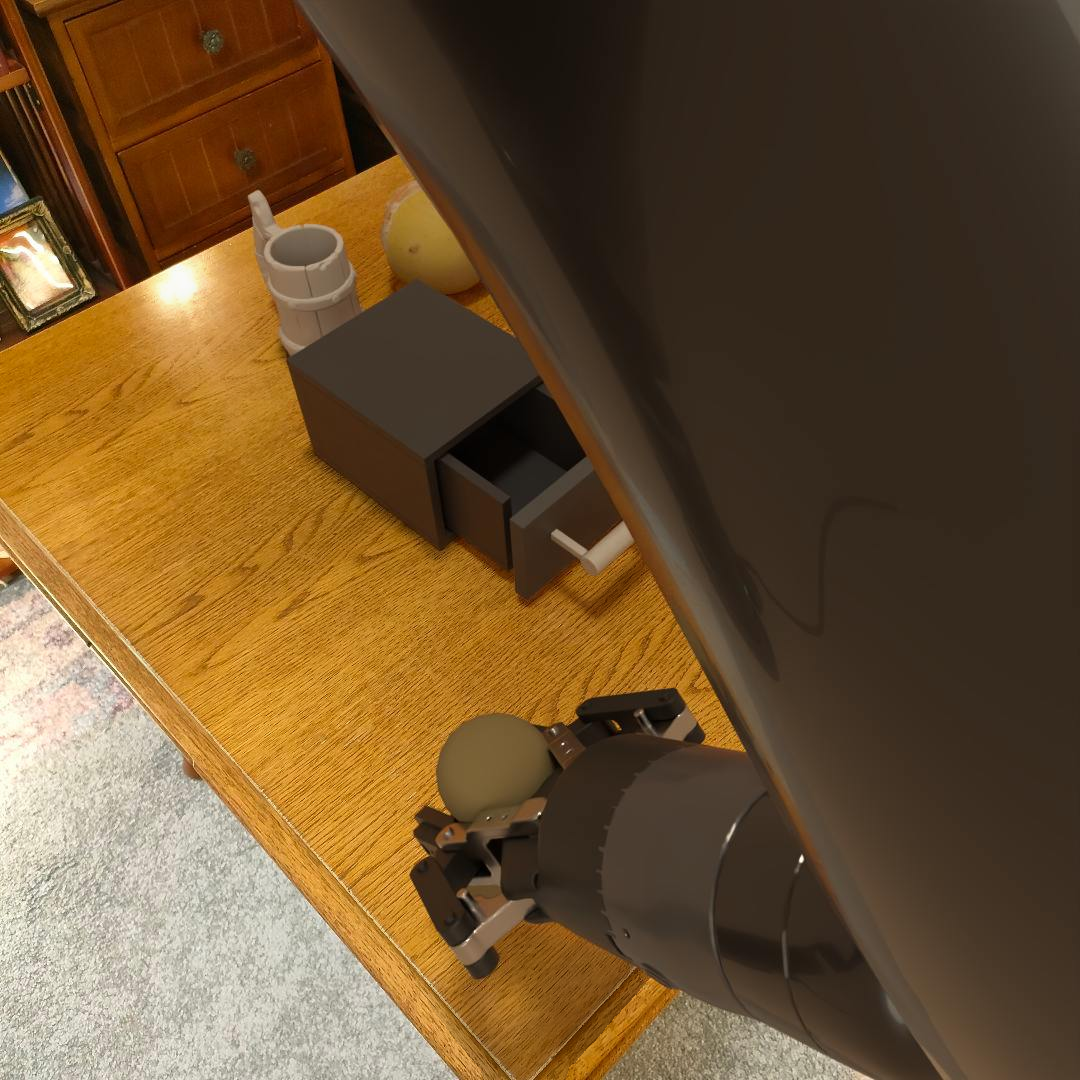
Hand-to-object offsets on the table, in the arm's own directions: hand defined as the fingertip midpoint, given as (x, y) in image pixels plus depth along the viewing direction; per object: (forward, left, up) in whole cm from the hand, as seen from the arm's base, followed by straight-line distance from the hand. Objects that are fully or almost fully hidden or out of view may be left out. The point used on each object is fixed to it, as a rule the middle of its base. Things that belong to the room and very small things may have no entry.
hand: (473, 786), depth 45 cm
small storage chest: (+20, +26, -11) cm, 35 cm away
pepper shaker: (0, -2, -5) cm, 6 cm away
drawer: (+20, +15, -10) cm, 27 cm away
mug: (+23, +45, -11) cm, 52 cm away
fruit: (+36, +42, -11) cm, 57 cm away
